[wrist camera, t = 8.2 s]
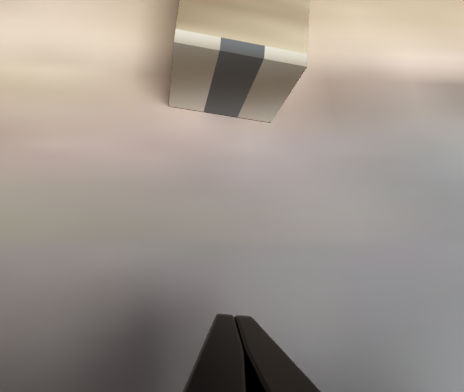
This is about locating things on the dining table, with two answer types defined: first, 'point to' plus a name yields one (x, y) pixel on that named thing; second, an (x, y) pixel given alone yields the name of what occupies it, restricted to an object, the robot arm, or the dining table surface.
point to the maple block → (238, 55)
